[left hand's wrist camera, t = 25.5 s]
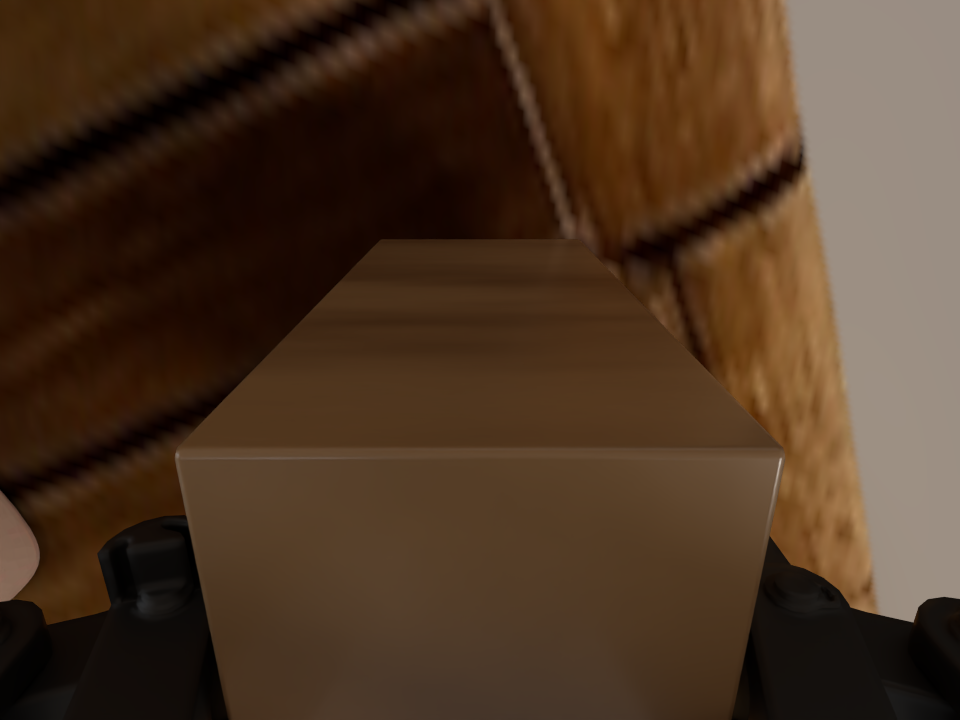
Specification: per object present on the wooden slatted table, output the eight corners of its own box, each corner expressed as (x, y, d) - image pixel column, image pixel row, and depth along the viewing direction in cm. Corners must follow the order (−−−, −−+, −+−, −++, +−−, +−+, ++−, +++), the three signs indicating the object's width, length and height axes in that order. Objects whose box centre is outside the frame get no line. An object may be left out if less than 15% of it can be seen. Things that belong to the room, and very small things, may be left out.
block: (564, 499, 18) (679, 986, 8) (394, 500, 18) (279, 987, 8) (580, 238, 15) (792, 450, 5) (379, 238, 15) (167, 449, 5)
